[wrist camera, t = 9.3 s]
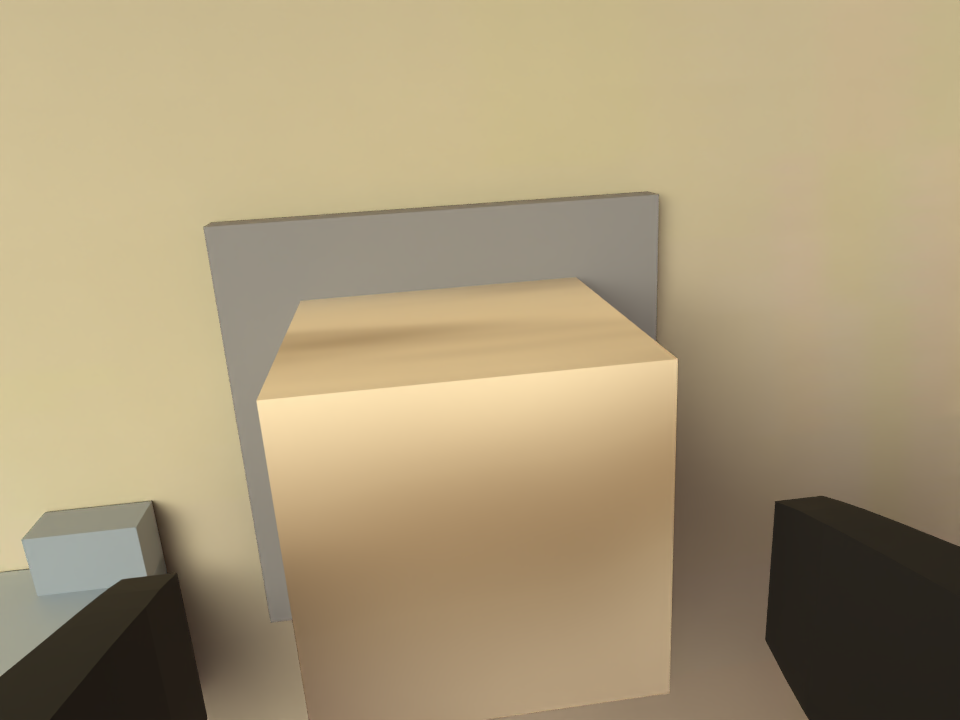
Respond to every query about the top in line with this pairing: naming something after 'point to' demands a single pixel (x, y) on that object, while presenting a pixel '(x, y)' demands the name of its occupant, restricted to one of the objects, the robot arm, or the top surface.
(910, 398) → the top surface
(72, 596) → the light grey drawer handle
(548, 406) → the wooden letter cube
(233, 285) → the mat
